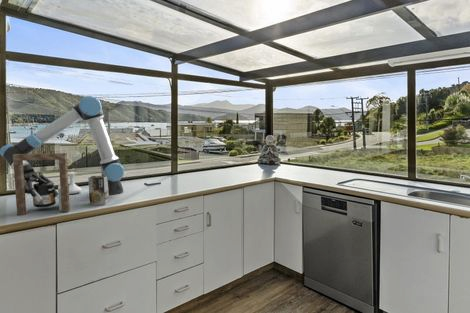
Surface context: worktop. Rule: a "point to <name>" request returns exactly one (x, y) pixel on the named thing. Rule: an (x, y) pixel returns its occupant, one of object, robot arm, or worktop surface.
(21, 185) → the door frame
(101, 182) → the coffee box
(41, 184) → the supplement container
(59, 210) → the door
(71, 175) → the flower in vase
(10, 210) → the worktop surface
